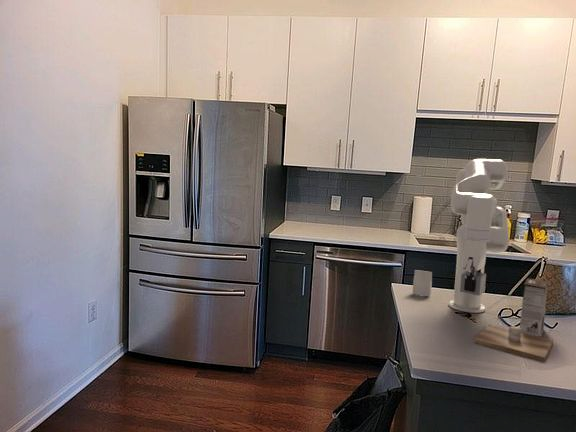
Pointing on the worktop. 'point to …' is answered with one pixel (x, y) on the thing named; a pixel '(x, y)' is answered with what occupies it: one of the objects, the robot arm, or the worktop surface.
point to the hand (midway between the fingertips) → (472, 288)
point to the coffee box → (533, 307)
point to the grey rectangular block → (422, 283)
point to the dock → (515, 342)
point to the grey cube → (479, 285)
